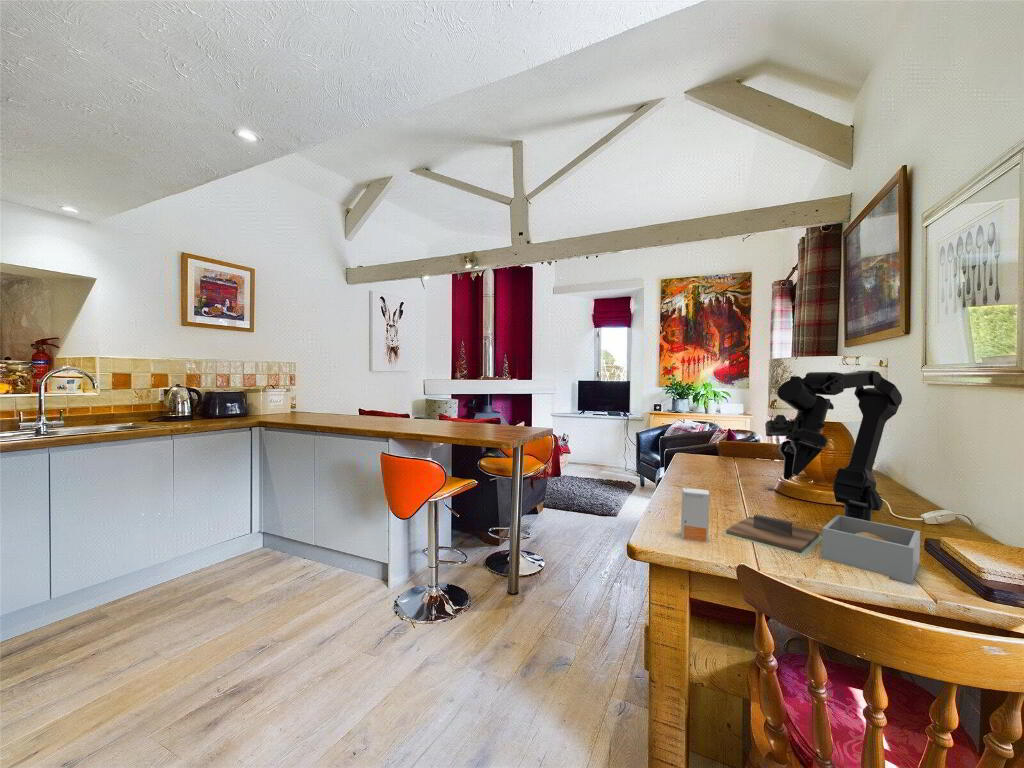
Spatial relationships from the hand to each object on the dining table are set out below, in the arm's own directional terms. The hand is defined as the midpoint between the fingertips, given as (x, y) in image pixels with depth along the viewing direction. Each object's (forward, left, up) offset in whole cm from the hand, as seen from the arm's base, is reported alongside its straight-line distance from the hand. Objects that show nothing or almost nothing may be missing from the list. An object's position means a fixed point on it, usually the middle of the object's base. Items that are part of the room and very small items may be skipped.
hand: (790, 477), depth 104 cm
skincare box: (+16, -16, -16) cm, 28 cm away
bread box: (-1, +15, -16) cm, 22 cm away
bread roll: (-1, +15, -16) cm, 22 cm away
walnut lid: (-1, -4, -15) cm, 16 cm away
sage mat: (-1, -4, -16) cm, 16 cm away
